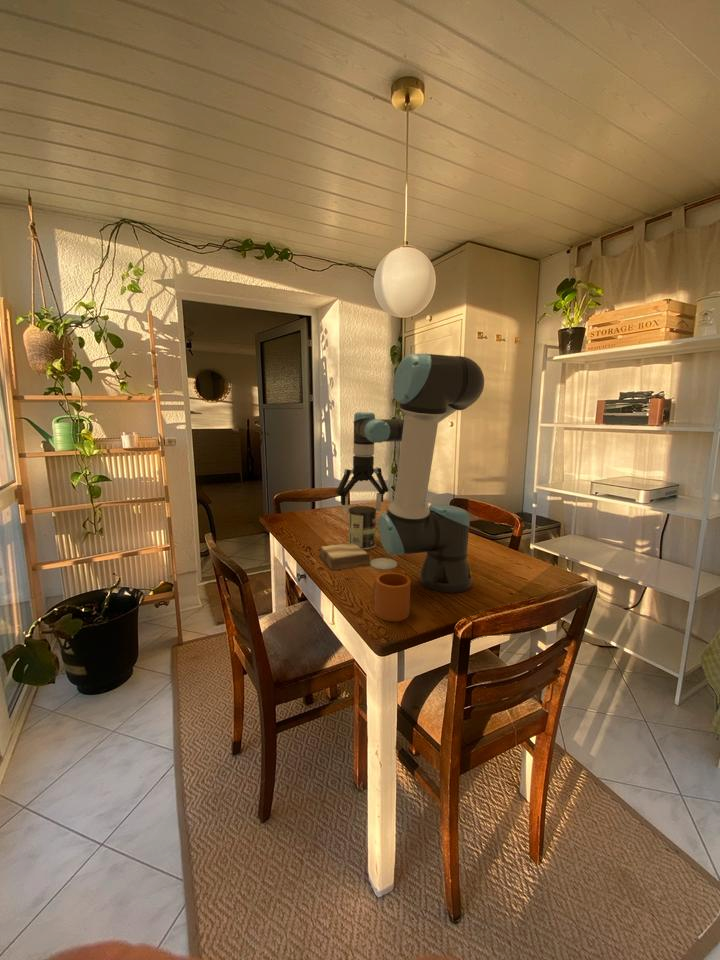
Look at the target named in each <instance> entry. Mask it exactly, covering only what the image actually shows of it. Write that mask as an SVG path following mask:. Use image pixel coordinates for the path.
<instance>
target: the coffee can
mask: <svg viewBox="0 0 720 960" xmlns="http://www.w3.org/2000/svg"><path fill="white" fill-rule="evenodd" d="M376 518H377V510H376V507H372V506H368V505H367V506H366V505H355V506H351V507H348V543H356V544H357V545H358V546H359V547H361V548H362V549H363V550H364V551H367V550H371V549H373V548H375V547H376V529H377V528H376V523H377V521H376V520H377V519H376Z"/></svg>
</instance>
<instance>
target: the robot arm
mask: <svg viewBox="0 0 720 960" xmlns="http://www.w3.org/2000/svg"><path fill="white" fill-rule="evenodd" d="M392 383H393V384H392V390H393V393H392V394H393V397H394V400H395V401H396V402H397V403H399V410H400V411H401V412H402V414H403V415H404V418H403V419H397V418H396V419H390V418H389V419H383V418H382V419H381V418H379V419H378V418H377V419H376V415H375V413H374V412H367V411H366V412H364V411H363V412H362V411H361V412H359V411H357V412H355V413H354V415H353V448H352V449H353V450H352V452H353V453H352V454H353V455H354V456H353V457H352V465H353V466H352V469H349V468H344V473H343V476H342V478H341V480H340V483H339V484H338V487H337V489H336V491H335V494H336V495H338V496H340V505H342V513H343V515H349V507H348V506H349V504H348V502H349V496H347V495H348V494H349V493H350V492H351V490H352V488H354V486H355V485H356V483H358V482H363V481H365V482H367V481H369V482H370V483H371V484H372V486H373V487H374V488H375V489H376V490H377V492H376V499H375V503H376V504H375V505H376V506H375V509H376V511H378V512H381V511H382V503H383V502H384V495H385V494H386V493H388V492H389V488H388V486H387V483H386V481H385V479H384V476H383V474H382V468H381V467H375V468H374V466H375V465H374V461H375V457H374V455H375V444H376V443H377V444H378V443H379V444H381V443H384V442H385V443H386V442H387V443H388V442H391V443H392V442H400V450H399V457H398V459H399V460H398V465H397V475H396V483H395V490H394V491H395V492H394V497H393V498H394V499H393V500H392V501H391V502H389V503H388V505H387V511H386V513H381V514H380V515H379V516H378V521H377V529H378V530H377V531H378V535H379V536H378V537H379V539H380V544H381V545H382V547H383V549H384V551H385V552H387V554H389V555H391V556H399V555H401V556H404V555H411V554H420V553H426V556H425V559H424V562H423V563H422V564H423V565H422V566H421V569H420V570H419V571H420V572H419V582H420V584H421V585H423V586H424V587H426V588H427V589H430V590H432V591H436V592H442V593H449V594H452V593H453V594H455V593H456V594H457V593H461V592H466V591H467V590H470V588H471V587H472V574H471V571H470V566H469V563H468V549H469V548H468V545H469V532H470V531H469V530H470V527H471V525H470V515H469V513H468V511H467V510H466V509H464V508H461V507H458V506H454V505H450V504H443V503H431V504H429V505H428V506H429V507H428V506H427V505H426V503H427V498H428V490H429V484H430V477H431V471H432V466H433V465H432V464H433V457H434V453H435V445H436V438H437V431H438V426H439V424H440V423H441V422H442V421H443V420H445V419H446V418H448V417H449V416H451V415H452V414H454V413H455V412H457V411H464V410H466V409H467V408H469V407H471V406H472V405H474V404H475V403H476V402H477V401H478V400H479V398H480V397H481V395H482V393H483V391H484V387H485V377H484V373H483V370H482V369H481V366H480V365H479V364H478V363H477V362H476V361H474V360H473V359H471V358H469V357H466V356H461V355H447V354H445V355H444V354H434V353H433V354H432V353H427V352H425V353H410V354H408V355H406V356H405V357H404V358H402V360H401V361H400V363H398V365H397V368H396V370H395V373H394V377H393V382H392ZM373 474H375V475H376V477H377V479H378V482H377V481H376V479H375V477H374V476H373ZM351 475H352V477H351ZM350 477H351V478H350ZM349 479H350V481H349Z"/></svg>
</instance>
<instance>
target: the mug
mask: <svg viewBox="0 0 720 960" xmlns="http://www.w3.org/2000/svg"><path fill="white" fill-rule="evenodd" d="M411 583H412V580H411V578H410V577H409V576H408V575H406V574H403V573H400V572H394V571H393V572H391V571H389V572H383V573H378V574H377V575H376V576H375V578H374V580H373V594H374V614H375V616H376V617H378V619H380V620H382V621H388V622H400V621H404V620H406V619H407V618H409V616H410V606H411V605H410V603H411V586H412V584H411Z"/></svg>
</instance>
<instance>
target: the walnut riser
mask: <svg viewBox="0 0 720 960" xmlns="http://www.w3.org/2000/svg"><path fill="white" fill-rule="evenodd" d="M370 555H371V554H370V553H368V552H367V550H363V549H362V548H361V547H359V546H358V545H357V544H356V543H349V542H347V543H340V544H332V545H323V546H319V558H320V559H321V560H322V561H323V562H324V563H325V564H326V565H327V566H328V568H330V570H332V571H335V570H336V571H338V570H344V569H351V568H356V567H357V568H358V567H361V566H362V567H364V566H370Z"/></svg>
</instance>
